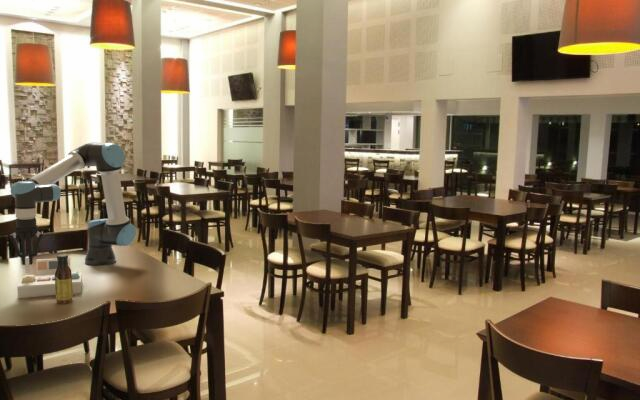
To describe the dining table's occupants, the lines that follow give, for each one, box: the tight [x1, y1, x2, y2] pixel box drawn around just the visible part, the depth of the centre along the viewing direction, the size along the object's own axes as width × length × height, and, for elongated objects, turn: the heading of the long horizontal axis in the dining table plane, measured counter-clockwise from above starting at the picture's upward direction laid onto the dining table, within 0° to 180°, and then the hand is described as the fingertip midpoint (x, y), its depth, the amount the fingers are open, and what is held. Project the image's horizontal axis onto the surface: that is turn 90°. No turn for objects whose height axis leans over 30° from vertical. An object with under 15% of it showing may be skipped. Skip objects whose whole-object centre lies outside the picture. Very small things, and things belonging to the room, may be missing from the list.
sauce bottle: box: [55, 253, 74, 305], centre depth 213 cm, size 6×6×20 cm
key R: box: [71, 271, 80, 279], centre depth 232 cm, size 4×4×4 cm
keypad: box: [16, 271, 83, 299], centre depth 229 cm, size 24×16×5 cm, turn 113°
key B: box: [38, 277, 50, 282], centre depth 227 cm, size 4×4×4 cm
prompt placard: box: [35, 257, 71, 276], centre depth 240 cm, size 14×1×11 cm, turn 113°
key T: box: [21, 274, 36, 283], centre depth 225 cm, size 4×4×4 cm
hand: (27, 271), depth 224 cm, fingers closed
